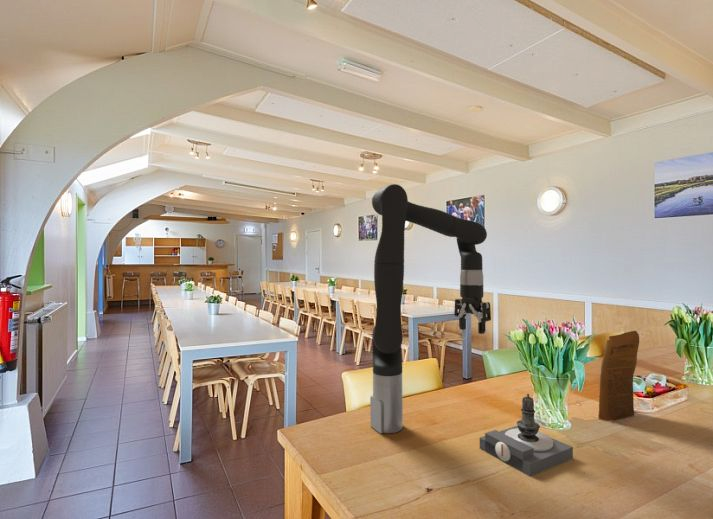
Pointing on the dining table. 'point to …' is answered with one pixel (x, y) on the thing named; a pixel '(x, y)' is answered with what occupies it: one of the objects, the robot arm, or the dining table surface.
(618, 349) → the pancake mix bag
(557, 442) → the kitchen scale
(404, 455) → the dining table surface
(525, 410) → the salt shaker
